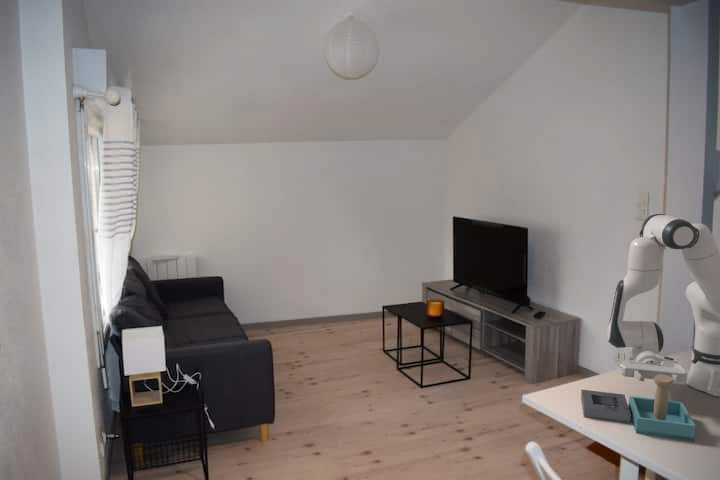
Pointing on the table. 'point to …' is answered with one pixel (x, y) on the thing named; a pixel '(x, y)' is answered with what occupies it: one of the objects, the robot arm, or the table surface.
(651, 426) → the bin
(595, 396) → the socket block
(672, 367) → the robot arm
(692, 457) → the table surface
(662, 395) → the handle
